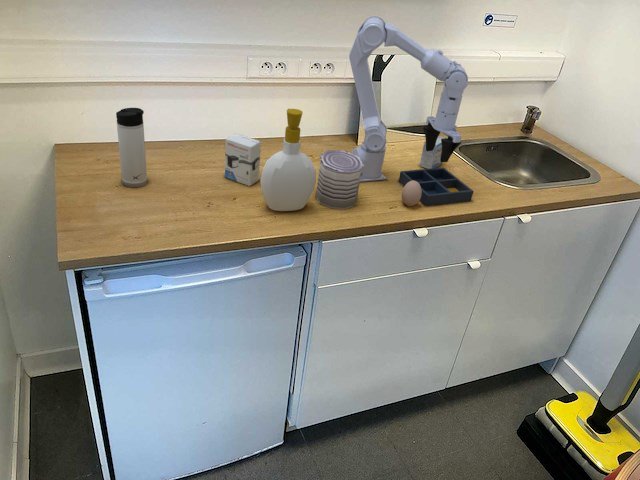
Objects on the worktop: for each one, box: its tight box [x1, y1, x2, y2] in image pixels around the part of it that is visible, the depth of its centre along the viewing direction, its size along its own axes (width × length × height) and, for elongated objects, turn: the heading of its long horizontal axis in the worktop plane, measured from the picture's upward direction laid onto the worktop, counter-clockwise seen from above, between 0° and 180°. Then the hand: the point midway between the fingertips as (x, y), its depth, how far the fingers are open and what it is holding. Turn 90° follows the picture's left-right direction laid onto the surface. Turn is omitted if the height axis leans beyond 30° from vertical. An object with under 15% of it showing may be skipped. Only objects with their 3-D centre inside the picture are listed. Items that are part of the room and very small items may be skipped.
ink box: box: [224, 133, 262, 187], centre depth 149 cm, size 8×5×12 cm, turn 62°
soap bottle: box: [259, 108, 317, 212], centre depth 135 cm, size 14×9×26 cm, turn 108°
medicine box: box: [419, 135, 445, 169], centre depth 172 cm, size 8×4×9 cm, turn 143°
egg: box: [401, 181, 422, 207], centre depth 148 cm, size 5×5×7 cm
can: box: [315, 149, 364, 210], centre depth 145 cm, size 11×11×12 cm
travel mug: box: [115, 107, 148, 188], centre depth 138 cm, size 6×7×20 cm
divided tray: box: [398, 167, 475, 207], centre depth 158 cm, size 15×15×3 cm
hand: (436, 156), depth 158 cm, fingers open, 7 cm apart
